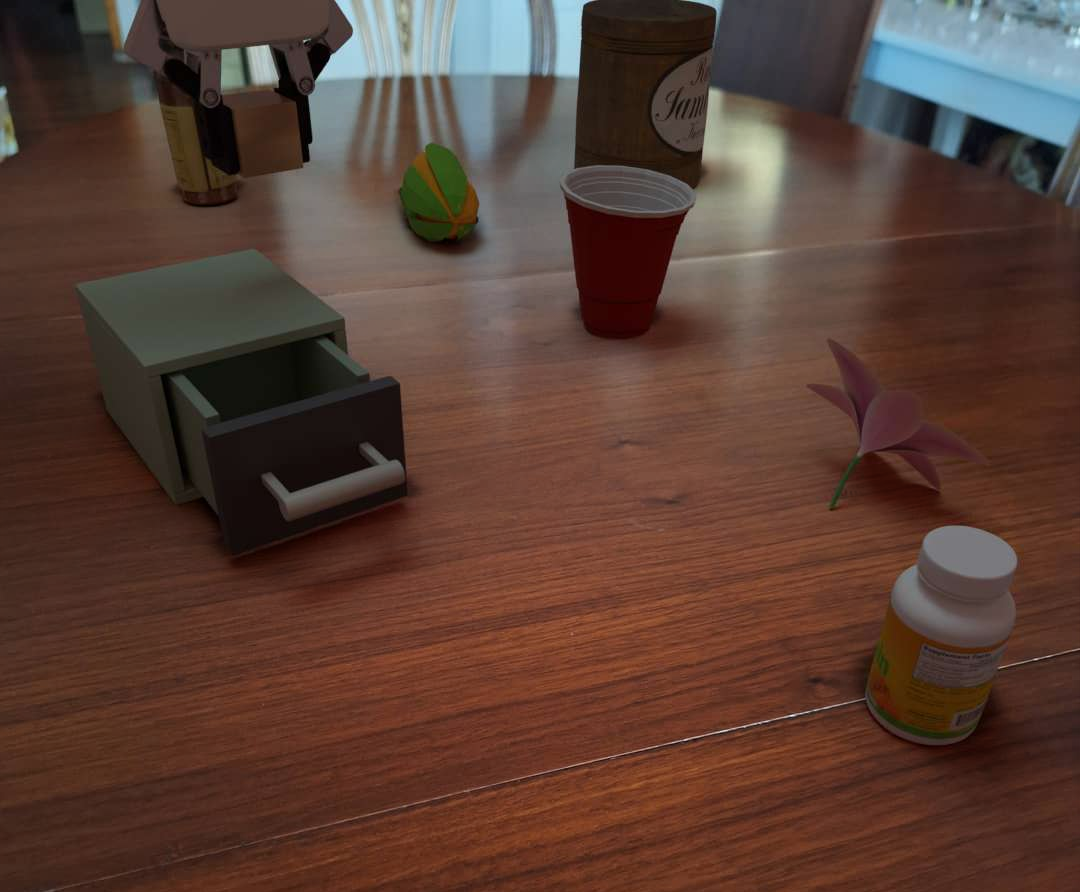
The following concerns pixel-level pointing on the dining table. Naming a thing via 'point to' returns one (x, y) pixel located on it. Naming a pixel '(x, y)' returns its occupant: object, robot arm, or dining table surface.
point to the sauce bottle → (189, 143)
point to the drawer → (287, 439)
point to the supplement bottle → (943, 637)
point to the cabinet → (189, 338)
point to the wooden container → (644, 85)
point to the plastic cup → (622, 242)
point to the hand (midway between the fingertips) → (260, 160)
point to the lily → (890, 420)
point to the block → (265, 132)
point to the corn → (439, 196)
